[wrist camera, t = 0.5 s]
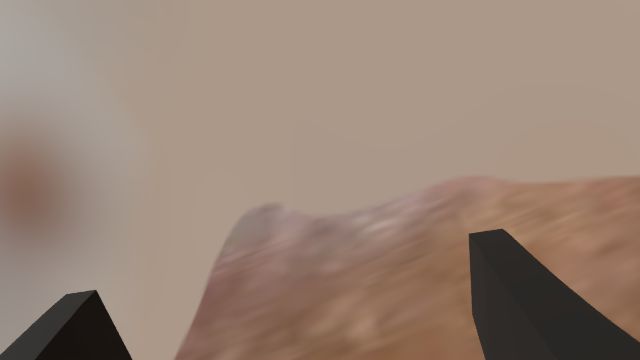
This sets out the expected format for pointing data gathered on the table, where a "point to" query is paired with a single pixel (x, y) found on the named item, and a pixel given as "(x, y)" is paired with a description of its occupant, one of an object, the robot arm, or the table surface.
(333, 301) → the table surface
